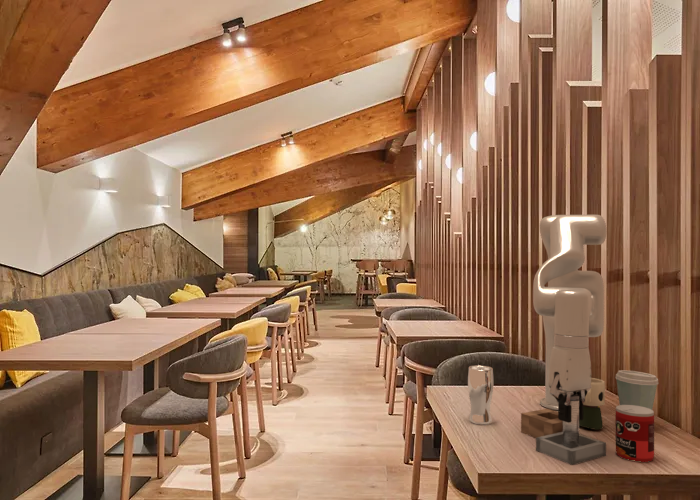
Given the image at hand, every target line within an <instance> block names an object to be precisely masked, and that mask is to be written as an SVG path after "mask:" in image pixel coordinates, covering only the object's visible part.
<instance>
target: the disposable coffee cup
mask: <svg viewBox="0 0 700 500" xmlns="http://www.w3.org/2000/svg"><path fill="white" fill-rule="evenodd" d="M615 379H616V387H617V395H618V402H619V404H618V405H635V406H641V407H646V408H649V409H651V410H653V408H654V402H655V398H656V391H657V386H658V385H659V379H658V377H657V375H654V374H652V373H648V372H647V373H646V372H642V371H635V370H625V369H624V370H622V369H621V370H618V371H617V372H616V374H615Z"/></svg>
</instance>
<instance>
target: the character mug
mask: <svg viewBox="0 0 700 500" xmlns="http://www.w3.org/2000/svg"><path fill="white" fill-rule="evenodd" d="M605 387H606V381H605V380H604V379H600V378H594V377H591V389H590V390H589V391H588V392H587V395H586V396H585V402H584V403H583V420H579V427H583V428H588V430H602V429H603V426H604V425H603V416H602V409H601V406H604V405H605V404H606V403H605V402H606V399H605V398H606V395H605V394H606V388H605Z"/></svg>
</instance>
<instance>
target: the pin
mask: <svg viewBox="0 0 700 500" xmlns="http://www.w3.org/2000/svg"><path fill="white" fill-rule="evenodd" d="M563 396H564V397H565V394H564V393H563ZM569 405H571V407H572V410H571V422H570V423H568V422H565V421H563V436H562V445H563V446H565V447H568V448H576V447H579V434H580V426H579V395H578V394H574V393H571V395H570V404H569Z"/></svg>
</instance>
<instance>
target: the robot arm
mask: <svg viewBox="0 0 700 500" xmlns="http://www.w3.org/2000/svg"><path fill="white" fill-rule="evenodd" d="M607 229H608V228H607V223H606V221H605V219H604V217H603V216H602V215H600V214H555V215H554V214H553V215H548V216H544V217H543V218H542V219H541V220H540V221H539V233H540V237H541V241H542V244H543V246H544V248H545V251H546V255H547V260H546V261H544V262H543V263H542V264H541V266H539V268H538V269H537V271H536V273H535V275H534V279H533V290H532V301H533V302H532V304H533V309H534V311H535V312H536V314H537V315H539V316H542V321H543V322H542V323H543V329H544V338H545V340H544V341H545V381H544V382H545V389H544V390H545V395H544V396H545V397H543V398H540V400H539V404H540V405H541V406H542V407H544V408H545V409H550V410H553V411H557V412H558V419H559V420H562V421H565V422H568V423H570V422H571V410H572V407H571V405H569V404H570V395H571V393H574V394H578V395H579V420H583V403H584V402H585V396H586V395H587V392H588V391H589V390H590V389H591V378H592V363H591V355H590V353H591V352H590V349H589V347H590V345H589V342H590V341H589V338H597V337H601V335H602V334H603V332H604V329H605V285H604V283H605V282H604V279H603V276H602V275H601V274H600V272H597V271H595V270H579V269H580V268H581V267H583V265H584V263H585V258H586V257H585V248H584V246H585V245H590V246H592V245H593V246H597V245H600V246H601V245H602V244H604V242H605V241H606V239H607V233H608V232H607V231H608V230H607ZM546 284H547V286H545V285H546ZM563 393H564V394H565V397H564V396H563Z"/></svg>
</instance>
